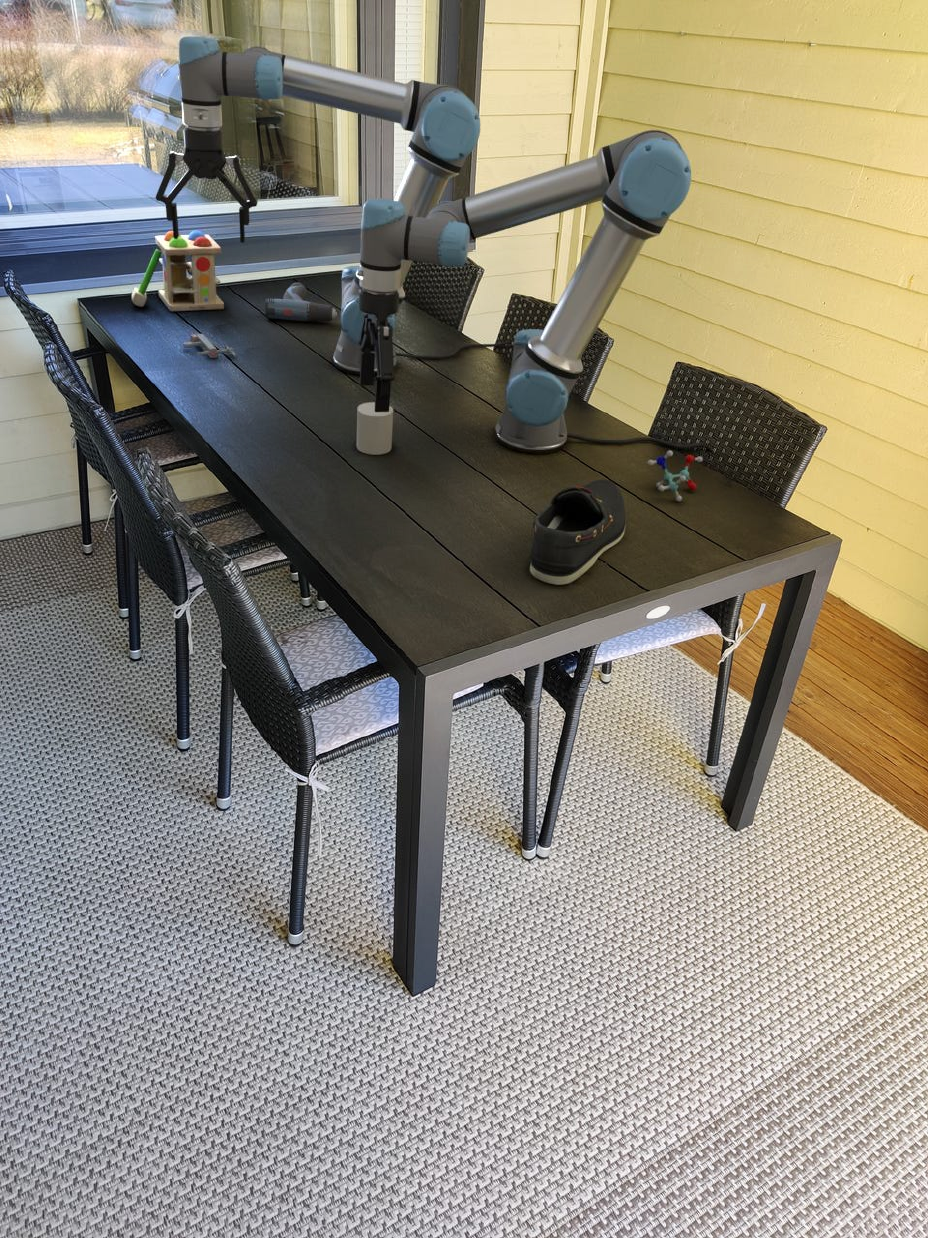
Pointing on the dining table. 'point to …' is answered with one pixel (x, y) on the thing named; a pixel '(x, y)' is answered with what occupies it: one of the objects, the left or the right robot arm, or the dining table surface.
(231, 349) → the clamp
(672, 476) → the molecular model
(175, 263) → the pounding bench toy
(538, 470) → the dining table surface
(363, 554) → the dining table surface
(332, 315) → the power drill
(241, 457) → the dining table surface
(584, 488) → the boat shoe
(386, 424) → the can
